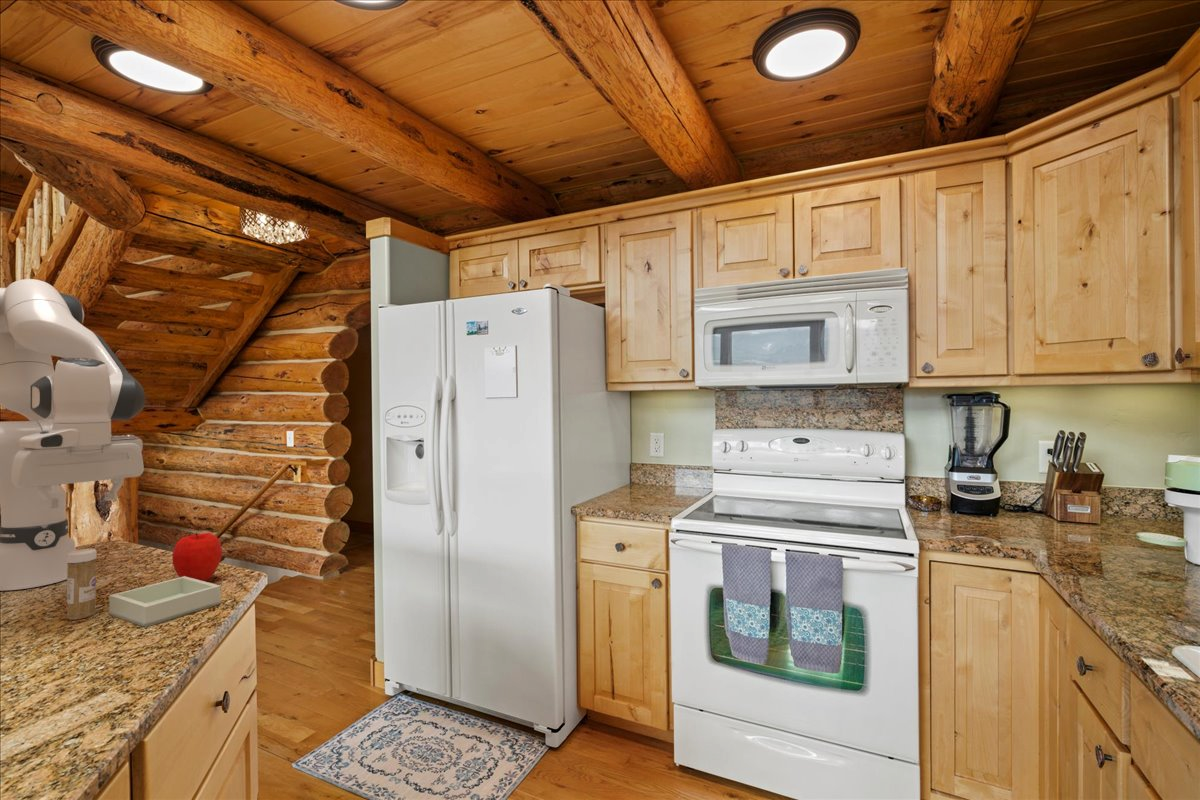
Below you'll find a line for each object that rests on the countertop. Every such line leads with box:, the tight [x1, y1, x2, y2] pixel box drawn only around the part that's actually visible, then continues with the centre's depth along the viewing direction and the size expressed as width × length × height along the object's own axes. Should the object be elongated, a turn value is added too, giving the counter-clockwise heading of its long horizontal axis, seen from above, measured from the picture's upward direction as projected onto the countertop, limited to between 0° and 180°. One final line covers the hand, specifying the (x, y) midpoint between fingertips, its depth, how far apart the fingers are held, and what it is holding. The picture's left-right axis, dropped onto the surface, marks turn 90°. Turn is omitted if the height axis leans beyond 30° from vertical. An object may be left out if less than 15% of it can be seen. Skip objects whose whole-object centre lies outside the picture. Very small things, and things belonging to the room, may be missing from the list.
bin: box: [108, 576, 222, 628], centre depth 118 cm, size 14×14×4 cm
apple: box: [171, 532, 223, 582], centre depth 136 cm, size 10×10×12 cm
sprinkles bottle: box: [66, 548, 98, 621], centre depth 114 cm, size 5×5×14 cm
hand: (82, 504), depth 114 cm, fingers open, 8 cm apart
